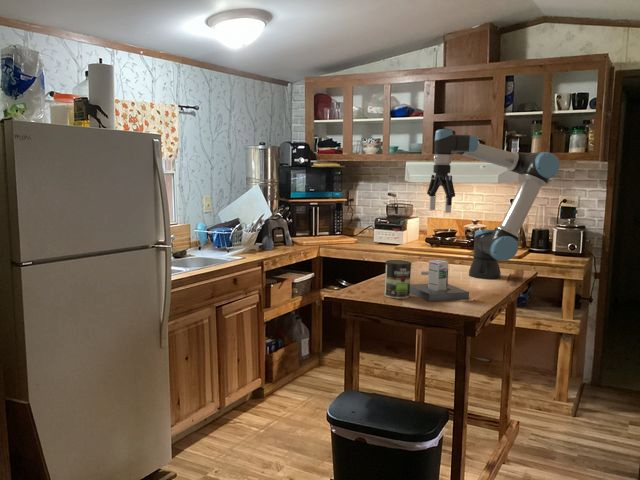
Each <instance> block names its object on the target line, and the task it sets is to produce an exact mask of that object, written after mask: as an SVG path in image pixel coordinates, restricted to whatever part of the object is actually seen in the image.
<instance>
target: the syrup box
mask: <svg viewBox="0 0 640 480" xmlns="http://www.w3.org/2000/svg"><path fill="white" fill-rule="evenodd" d="M428 271H429V274H428V275H427V276H428V278H427V279H428V281H427V284H428V288H429V289H431V290H433V291H441V290H447V288H448V284H449V283H448V282H449V261H447V260H444V259H437V260H435V259H434V260H429V261H428Z"/></svg>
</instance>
